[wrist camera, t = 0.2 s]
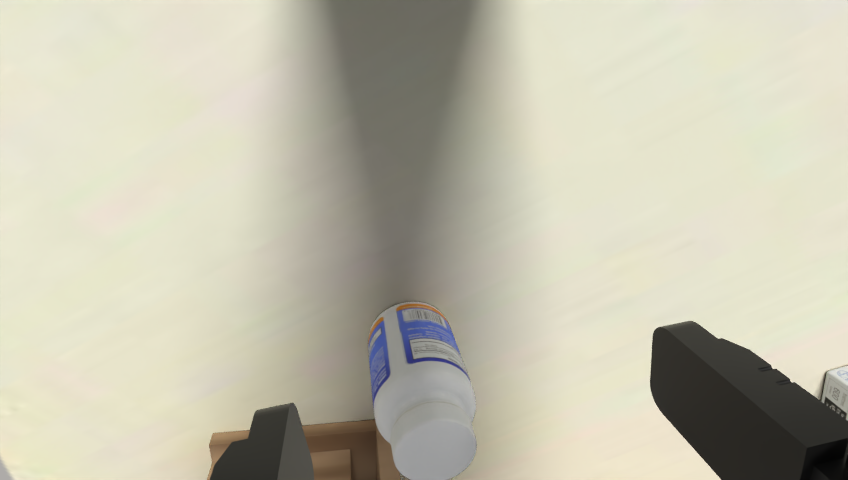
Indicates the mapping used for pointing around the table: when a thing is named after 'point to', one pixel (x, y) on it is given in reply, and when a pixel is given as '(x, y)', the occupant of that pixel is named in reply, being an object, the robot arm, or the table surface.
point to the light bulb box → (837, 391)
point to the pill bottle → (421, 392)
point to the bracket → (334, 451)
